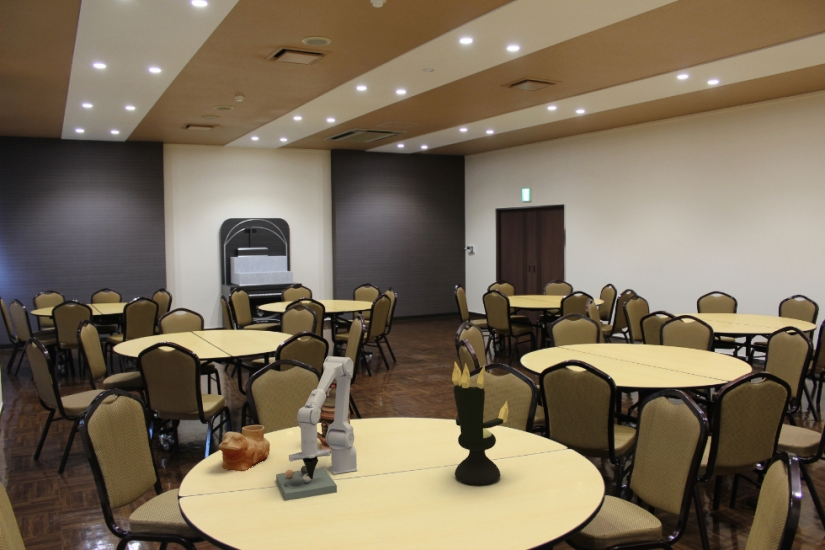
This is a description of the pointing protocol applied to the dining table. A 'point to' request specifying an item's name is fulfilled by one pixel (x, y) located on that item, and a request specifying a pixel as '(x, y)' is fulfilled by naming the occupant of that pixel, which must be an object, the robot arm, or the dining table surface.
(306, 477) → the steel ball
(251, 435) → the ceramic vessel
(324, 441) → the beer stein
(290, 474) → the terracotta ball
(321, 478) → the plate
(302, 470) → the black ball
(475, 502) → the dining table surface
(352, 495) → the dining table surface
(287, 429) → the dining table surface
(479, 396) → the candelabra
